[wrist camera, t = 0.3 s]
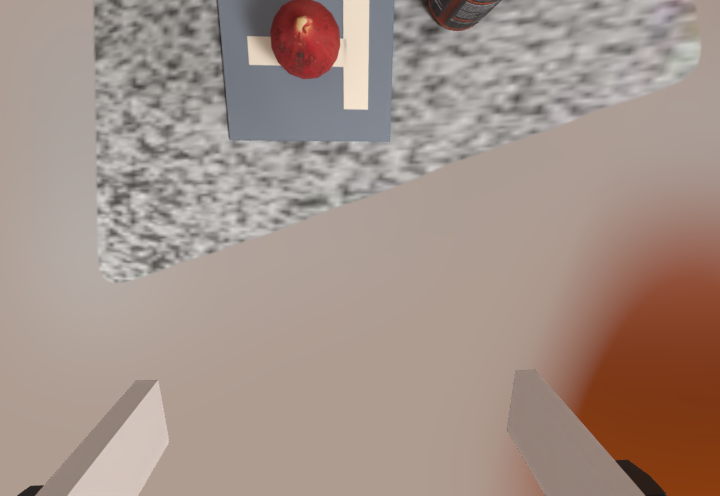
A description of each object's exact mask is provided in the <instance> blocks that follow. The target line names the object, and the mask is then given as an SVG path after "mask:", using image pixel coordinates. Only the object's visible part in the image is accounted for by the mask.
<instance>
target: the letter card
mask: <svg viewBox="0 0 720 496" xmlns="http://www.w3.org/2000/svg"><path fill="white" fill-rule="evenodd" d="M289 1H291V0H218V8H219V19H220V31H221V42H222V54H223V65H224V77H225V88H226V100H227V111H228V123H229V134H230V140H286V141H385V142H390V122H391V89H392V56H393V23H394V0H313V1H316V2H319V3H321V4H322V5H323V6H324V7H325V8H327V9H328V10H329V11H330V12H331V13H332V15H333V17H334V19H335V21H336V23H337V25H338V26H339V32H340V49H339V53H338V57H337V60H336V61H335V63H334V64H333V66H332V67H331V69H330V70H329V71H328V72H326V73H325V74H323V75H322V76H320V77H319V78H313V79H301V78H299V77H296V76H293V75H291V74H289V73H288V72H287V71H286V70H285V69H284V68H283V67H282V66H281V65H280V64H279V63H278V61H277V59H276V57H275V55H274V53H273V50H272V47H271V36H270V30H271V26H272V22H273V18H274V16H275V15H276V13H277V12H278V11H279V9H280V8H281V6H282V5H284V4H286V3H288V2H289Z"/></svg>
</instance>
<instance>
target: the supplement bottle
mask: <svg viewBox="0 0 720 496" xmlns="http://www.w3.org/2000/svg"><path fill="white" fill-rule="evenodd" d="M500 1H501V0H428V3H429V8H430V11H431V13H432V15H433V17H434V18H435V20H436V21H437V22H438V23H439V24H440V25H441V26H443V27H444V28H446V29H449V30H453V31H461V30H466V29H469V28H471V27H472V26H474V25H475V24H477V23H478V22H479V21H480V20H481V19H482V18H483V17H485V16H486V15H487V14H488V13H489V12H490V11H491V10H492V9H493V8H494V7H495V6H496V5H497V4H498V3H499V2H500Z"/></svg>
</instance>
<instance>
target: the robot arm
mask: <svg viewBox="0 0 720 496" xmlns="http://www.w3.org/2000/svg"><path fill="white" fill-rule="evenodd" d="M507 431H508V433H509V434H510V436H511V438H512V440H513V441H514V443H515V445H516V446H517V448H518V450H519V452H520V453H521V455H522V457H523V458H524V460H525V462H526V464H527V465H528V467H529V469H530V470H531V472H532V473H533V476H534V477H535V479H536V481H537V482H538V484H539V486H540V487H541V489H542V491H543V493H544V494H545V496H667V494H666V493H665V492H664V491H663V490H662V488H661V487H660V486H659V485H658V484H657V483H656V482H655V481H654V480H653V479H652V478H651V477H650V476H649V475H648V474H647V473H645V472H644V471H642V470H641V469H640V468H638V467H637V466H636V465H634V464H633V463H631V462H630V461H629V460H614V459H613V458H612V457H611V456H610V455H609V453H608V452H607V451H606V450H605V449H604V448H603V447H602V445H601V444H600V443H599V442H598V441H597V440H596V439H595V437H594V436H593V435H592V434H591V433H590V432H589V431H588V429H587V428H586V427H585V426H584V425H583V424H582V422H580V420H579V419H578V418H577V417H576V416H575V414H574V413H573V412H572V411H571V410H570V409H569V408H568V407H567V406H566V404H565V403H564V402H563V401H562V400H561V398H560V397H559V396H558V395H557V394H556V393H555V392H554V391H553V390H552V388H551V387H550V386H549V385H548V384H547V383H546V381H545V380H544V379H543V378H542V377H541V376H540V374H539V373H538V372H537V371H536V370H516V371H515V378H514V384H513V391H512V399H511V405H510V412H509V418H508V426H507ZM168 443H169V438H168V433H167V427H166V421H165V416H164V410H163V404H162V399H161V393H160V388H159V383H158V380H139V381H135V382H134V384H133V385H132V386H131V387H130V388H129V389H128V390H127V392H126V393H125V394H124V395H123V396H122V397H121V398H120V399H119V401H118V402H117V403H116V404H115V405H114V406H113V407H112V409H111V410H110V411H109V412H108V413H107V414H106V415H105V417H104V418H103V419H102V420H101V421H100V422H99V423H98V425H97V426H96V427H95V428H94V429H93V430H92V431H91V433H90V434H89V435H88V436H87V437H86V438H85V439H84V440H83V442H82V443H81V444H80V445H79V446H78V447H77V449H76V450H75V451H74V452H73V453H72V454H71V455H70V456H69V458H68V459H67V460H66V461H65V462H64V463H63V464H62V466H61V467H60V468H59V469H58V470H57V471H56V472H55V474H54V475H53V476H52V477H51V478H50V479H49V481H48V482H47V483H46V484H45V485H43V486H42V485H41V486H30V487H28V488H27V489H26V490H24V491H23V492H22V493H20V494H19V495H18V496H138V495H139V493H140V492H141V490H142V488H143V486H144V485H145V483H146V481H147V480H148V478H149V476H150V474H151V473H152V471H153V469H154V467H155V466H156V464H157V462H158V460H159V459H160V457H161V455H162V454H163V452H164V450H165V449H166V447H167V445H168Z"/></svg>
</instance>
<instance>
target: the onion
mask: <svg viewBox="0 0 720 496" xmlns="http://www.w3.org/2000/svg"><path fill="white" fill-rule="evenodd" d="M270 36H271V47H272V50H273V53H274V55H275V57H276V59H277V61H278V63H279V64H280V65H281V66H282V67H283V68H284V69H285V70H286V71H287V72H288V73H289V74H291V75H293V76H296V77H299V78H301V79H313V78H319V77H320V76H322V75H323V74H325V73H326V72H328V71H329V70H330V69H331V67H332V66H333V64H334V63H335V61H336V60H337V57H338V53H339V49H340V32H339V26H338V25H337V23H336V21H335V19H334V17H333V15H332V13H331V12H330V11H329V10H328V9H327V8H325V7H324V6H323V5H322V4H321V3H319V2H316V1H313V0H291V1H289V2H288V3H286V4H284V5H282V6H281V8H280V9H279V11H278V12H277V13H276V15H275V16H274V18H273V22H272V26H271V30H270Z"/></svg>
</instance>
